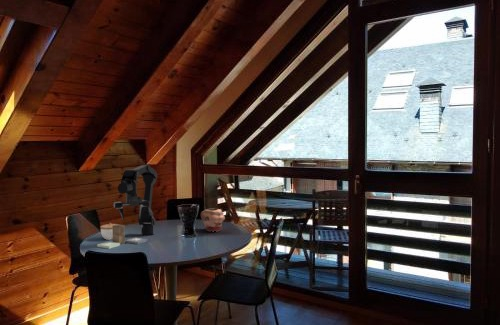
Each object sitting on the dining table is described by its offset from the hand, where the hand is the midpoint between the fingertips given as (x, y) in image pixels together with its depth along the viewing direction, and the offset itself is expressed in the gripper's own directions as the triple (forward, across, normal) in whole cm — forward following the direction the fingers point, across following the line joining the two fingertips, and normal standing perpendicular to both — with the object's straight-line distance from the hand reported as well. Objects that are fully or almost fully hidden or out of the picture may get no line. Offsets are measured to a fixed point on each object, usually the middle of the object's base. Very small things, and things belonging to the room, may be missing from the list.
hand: (131, 219), depth 220 cm
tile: (+13, +2, 0) cm, 13 cm away
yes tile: (+13, -13, -2) cm, 19 cm away
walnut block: (+13, -7, +2) cm, 15 cm away
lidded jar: (+13, -10, +16) cm, 23 cm away
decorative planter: (+13, +51, +8) cm, 53 cm away
